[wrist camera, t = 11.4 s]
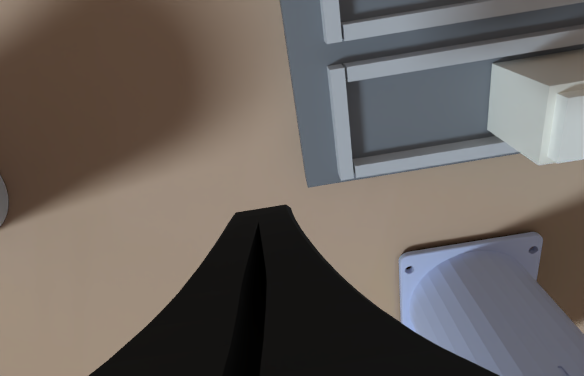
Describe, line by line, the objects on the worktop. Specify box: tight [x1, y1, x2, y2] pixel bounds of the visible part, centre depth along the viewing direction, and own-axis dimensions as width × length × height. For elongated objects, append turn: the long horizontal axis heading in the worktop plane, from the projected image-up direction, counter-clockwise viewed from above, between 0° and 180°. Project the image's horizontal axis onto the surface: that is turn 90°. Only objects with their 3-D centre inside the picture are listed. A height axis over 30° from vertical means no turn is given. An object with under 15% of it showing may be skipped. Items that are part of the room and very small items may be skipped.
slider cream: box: [487, 49, 584, 165], centre depth 17 cm, size 3×4×5 cm
